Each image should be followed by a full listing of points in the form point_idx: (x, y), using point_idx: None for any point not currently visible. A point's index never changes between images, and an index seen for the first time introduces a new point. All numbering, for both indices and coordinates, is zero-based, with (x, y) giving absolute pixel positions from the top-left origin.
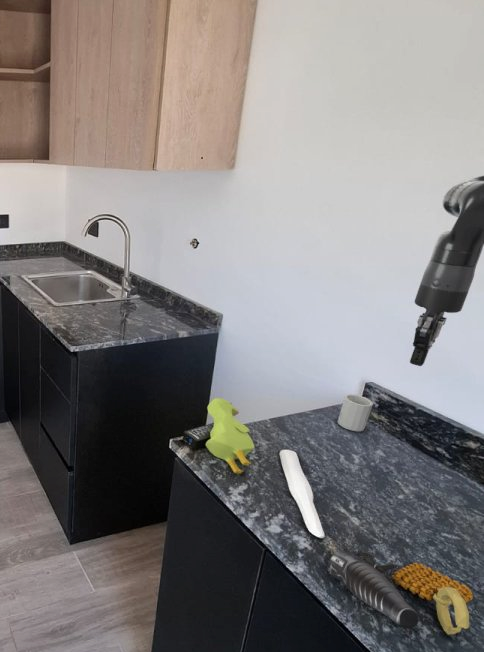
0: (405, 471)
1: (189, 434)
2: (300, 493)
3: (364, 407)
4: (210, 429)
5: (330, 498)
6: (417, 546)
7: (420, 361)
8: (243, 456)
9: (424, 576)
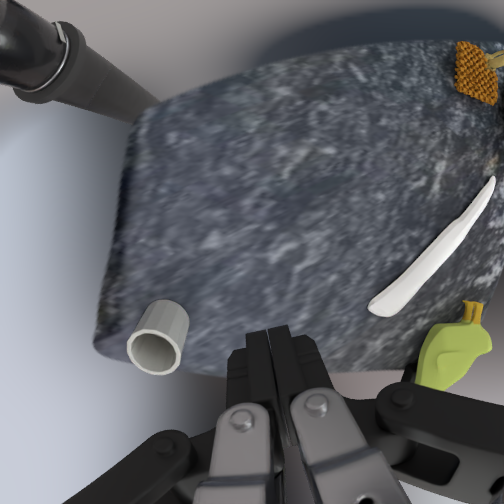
0: (233, 182)
1: None
2: (465, 233)
3: (167, 332)
4: None
5: (427, 209)
6: (418, 96)
7: (315, 344)
8: (478, 313)
9: (477, 80)
